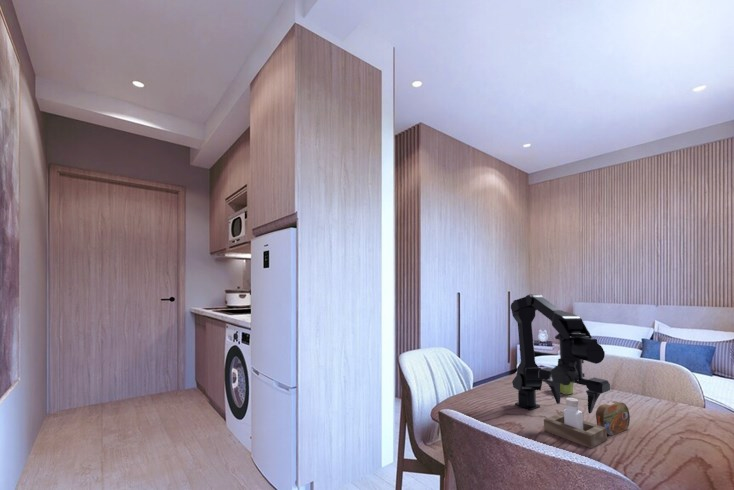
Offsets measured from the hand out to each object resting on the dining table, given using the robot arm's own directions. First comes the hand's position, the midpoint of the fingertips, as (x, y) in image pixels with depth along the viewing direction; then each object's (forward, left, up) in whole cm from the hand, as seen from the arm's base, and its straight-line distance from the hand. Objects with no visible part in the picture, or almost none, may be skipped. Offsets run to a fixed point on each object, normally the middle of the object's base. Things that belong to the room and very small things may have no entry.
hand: (573, 408), depth 103 cm
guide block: (0, 0, -8) cm, 8 cm away
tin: (-14, +5, -8) cm, 17 cm away
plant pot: (-40, -23, -8) cm, 47 cm away
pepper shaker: (0, 0, -7) cm, 7 cm away
